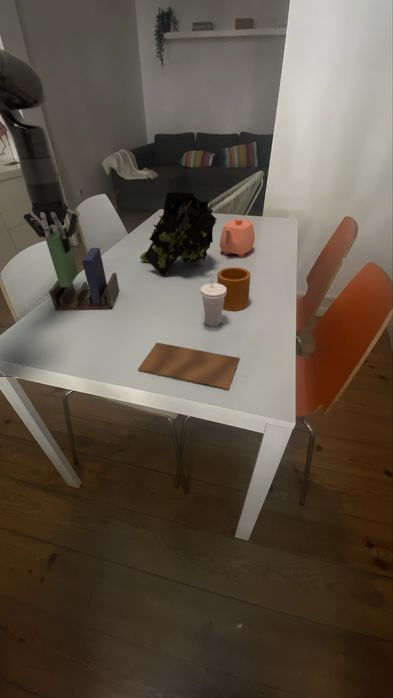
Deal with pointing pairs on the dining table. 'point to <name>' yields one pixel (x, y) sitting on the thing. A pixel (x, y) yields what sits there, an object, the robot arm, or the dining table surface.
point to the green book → (62, 260)
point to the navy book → (95, 274)
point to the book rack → (83, 296)
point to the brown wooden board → (190, 365)
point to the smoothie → (213, 301)
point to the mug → (235, 287)
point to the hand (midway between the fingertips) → (62, 251)
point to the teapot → (237, 237)
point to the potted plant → (180, 232)
